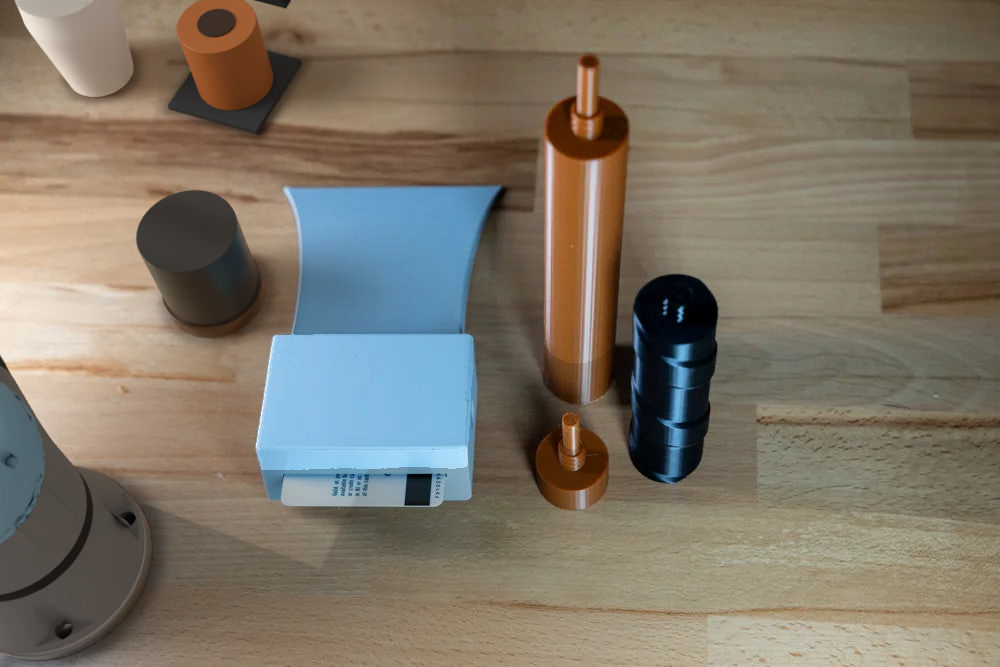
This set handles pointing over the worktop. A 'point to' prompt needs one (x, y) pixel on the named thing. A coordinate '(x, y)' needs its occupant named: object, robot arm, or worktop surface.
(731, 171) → the worktop surface
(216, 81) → the copper cylinder
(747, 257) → the worktop surface
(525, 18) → the worktop surface
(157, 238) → the dark grey cylinder
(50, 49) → the cup
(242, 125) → the mat
